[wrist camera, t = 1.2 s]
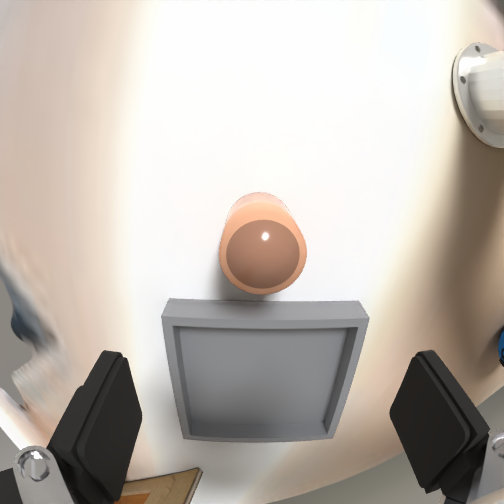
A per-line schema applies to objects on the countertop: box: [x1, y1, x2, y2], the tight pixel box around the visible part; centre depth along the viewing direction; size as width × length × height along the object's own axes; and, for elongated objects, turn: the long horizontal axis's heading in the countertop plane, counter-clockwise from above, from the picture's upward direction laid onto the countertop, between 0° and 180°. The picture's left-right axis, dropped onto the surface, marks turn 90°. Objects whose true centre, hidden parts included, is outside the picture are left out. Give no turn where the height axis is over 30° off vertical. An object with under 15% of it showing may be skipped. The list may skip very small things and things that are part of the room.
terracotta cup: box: [219, 192, 307, 295], centre depth 25 cm, size 6×6×8 cm
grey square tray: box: [161, 298, 369, 442], centre depth 33 cm, size 20×20×4 cm
